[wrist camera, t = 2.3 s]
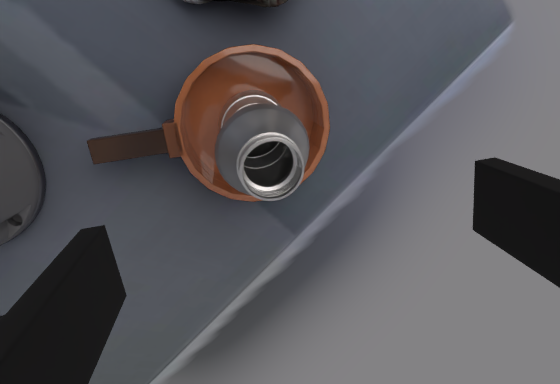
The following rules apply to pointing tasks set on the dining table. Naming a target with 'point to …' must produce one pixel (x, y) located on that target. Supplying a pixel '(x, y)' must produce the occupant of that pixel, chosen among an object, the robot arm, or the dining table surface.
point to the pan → (235, 79)
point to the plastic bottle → (261, 146)
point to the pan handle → (136, 144)
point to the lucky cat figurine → (259, 0)
